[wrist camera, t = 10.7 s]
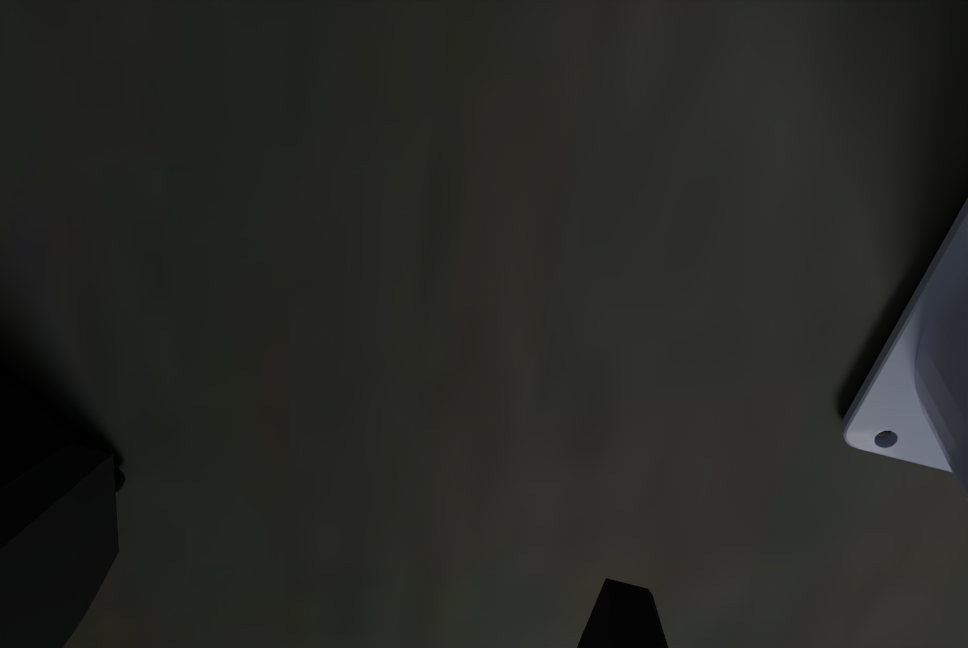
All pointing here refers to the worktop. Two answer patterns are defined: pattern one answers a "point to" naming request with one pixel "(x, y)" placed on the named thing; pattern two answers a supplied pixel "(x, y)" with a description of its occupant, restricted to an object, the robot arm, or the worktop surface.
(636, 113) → the worktop surface
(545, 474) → the worktop surface
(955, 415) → the robot arm
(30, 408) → the battery charger
